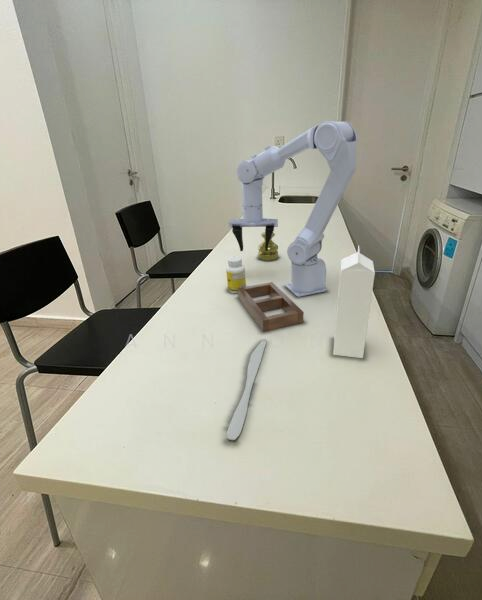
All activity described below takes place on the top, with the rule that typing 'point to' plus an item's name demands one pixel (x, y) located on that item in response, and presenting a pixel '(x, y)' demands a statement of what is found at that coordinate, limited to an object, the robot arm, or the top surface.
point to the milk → (353, 305)
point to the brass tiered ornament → (272, 249)
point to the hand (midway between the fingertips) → (254, 250)
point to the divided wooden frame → (270, 306)
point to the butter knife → (245, 393)
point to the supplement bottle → (235, 274)
